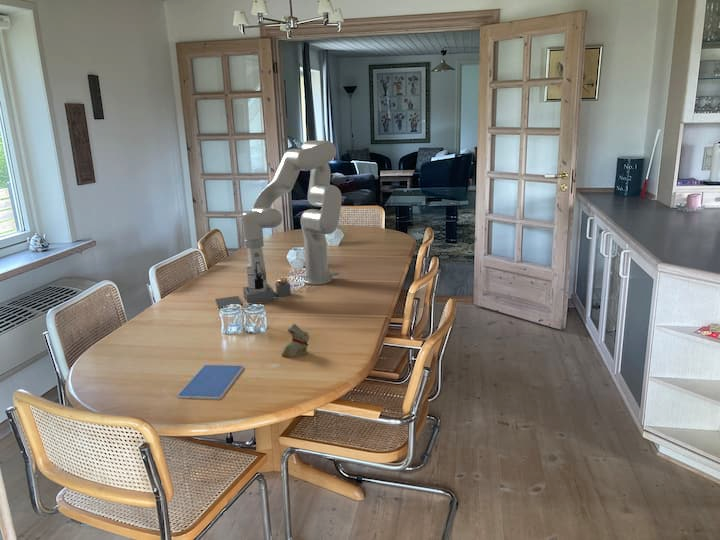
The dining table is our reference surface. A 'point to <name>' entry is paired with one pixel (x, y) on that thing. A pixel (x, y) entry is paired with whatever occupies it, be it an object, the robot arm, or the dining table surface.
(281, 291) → the housing
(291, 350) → the chocolate bunny
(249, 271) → the syrup box
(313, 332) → the dining table surface
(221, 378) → the tablet computer
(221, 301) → the mat
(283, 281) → the plunger
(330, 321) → the dining table surface
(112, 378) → the dining table surface
